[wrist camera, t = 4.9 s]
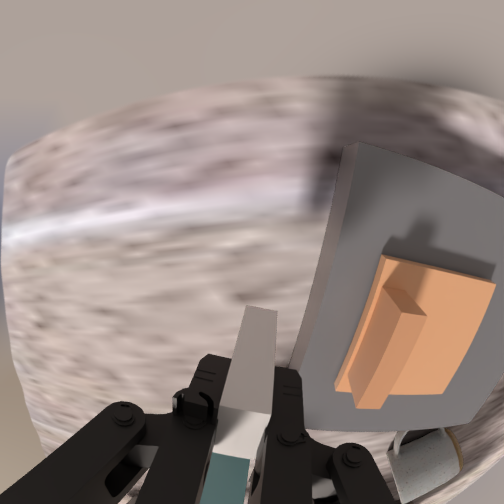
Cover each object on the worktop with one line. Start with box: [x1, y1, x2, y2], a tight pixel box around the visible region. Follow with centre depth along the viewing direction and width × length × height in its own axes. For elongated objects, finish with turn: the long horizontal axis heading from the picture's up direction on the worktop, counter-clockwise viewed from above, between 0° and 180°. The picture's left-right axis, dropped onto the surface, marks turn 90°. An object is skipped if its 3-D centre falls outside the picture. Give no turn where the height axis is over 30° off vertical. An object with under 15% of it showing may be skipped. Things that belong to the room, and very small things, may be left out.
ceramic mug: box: [386, 427, 463, 504], centre depth 20 cm, size 11×8×8 cm
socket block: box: [288, 142, 504, 432], centre depth 18 cm, size 20×20×4 cm
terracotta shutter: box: [334, 254, 496, 409], centre depth 14 cm, size 9×9×4 cm
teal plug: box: [200, 452, 250, 504], centre depth 19 cm, size 4×4×14 cm
